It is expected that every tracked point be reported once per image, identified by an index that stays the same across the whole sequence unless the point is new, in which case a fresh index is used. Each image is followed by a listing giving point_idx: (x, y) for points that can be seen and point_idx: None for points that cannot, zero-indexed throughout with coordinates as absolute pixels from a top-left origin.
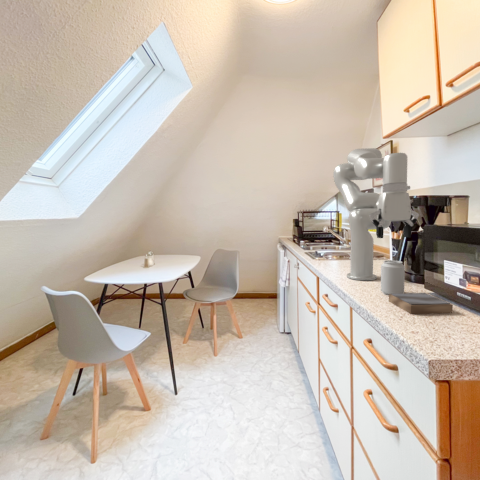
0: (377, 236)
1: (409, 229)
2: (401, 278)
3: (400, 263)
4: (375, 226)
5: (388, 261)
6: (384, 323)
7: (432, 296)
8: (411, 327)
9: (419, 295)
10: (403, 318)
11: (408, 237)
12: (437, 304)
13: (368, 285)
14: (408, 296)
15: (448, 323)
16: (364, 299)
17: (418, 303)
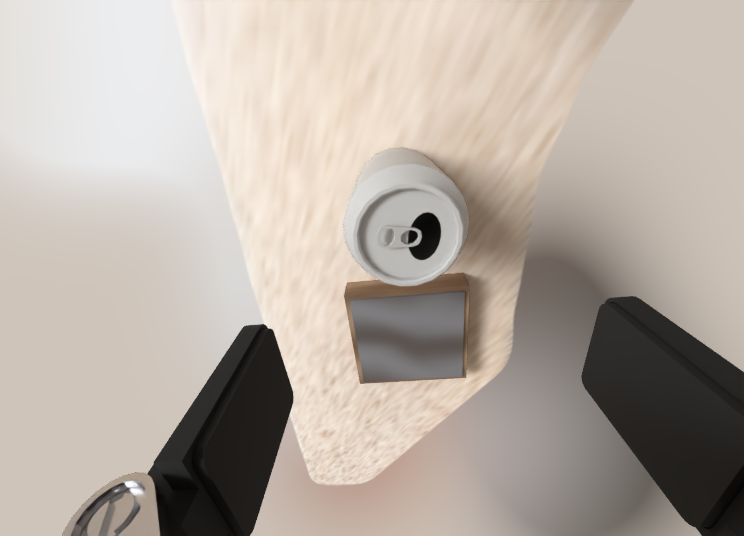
0: (244, 340)
1: (662, 481)
2: (421, 253)
3: (429, 279)
4: (113, 482)
5: (378, 244)
6: None
7: (460, 327)
8: (330, 419)
9: (428, 318)
10: (334, 387)
11: (588, 369)
12: (429, 376)
13: (342, 27)
14: (388, 328)
15: (409, 405)
16: (276, 265)
17: (383, 378)
